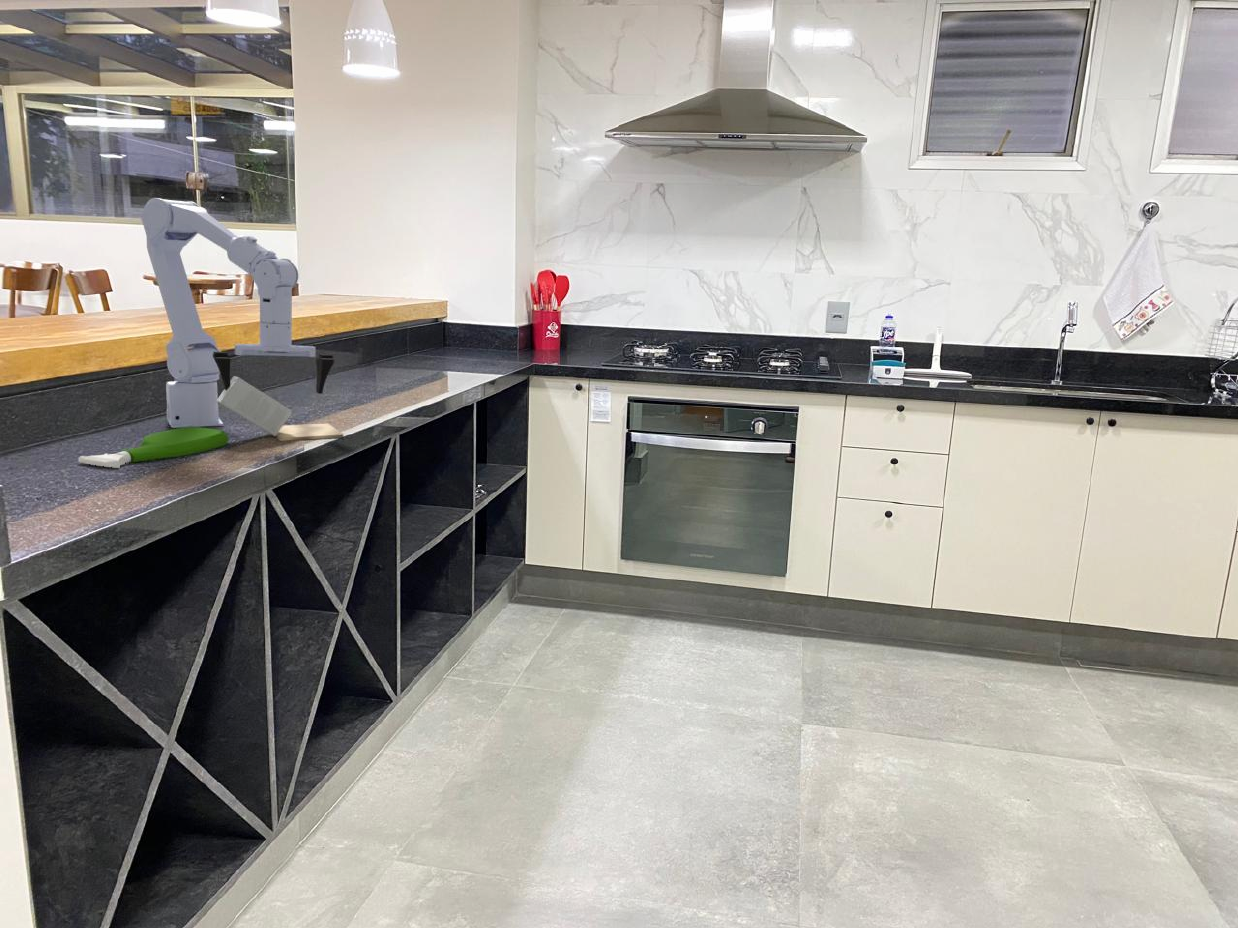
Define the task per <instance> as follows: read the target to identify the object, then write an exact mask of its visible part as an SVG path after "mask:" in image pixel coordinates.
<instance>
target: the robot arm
mask: <svg viewBox="0 0 1238 928" xmlns="http://www.w3.org/2000/svg"><path fill="white" fill-rule="evenodd" d="M140 218H141V222H142V226H143V228H144V231H145V235H146V249H147V253H148V256H149V260H150V262H151V265H152V270H153V272H154V273H153V274H154V276H155V280H156V283H157V286H158V288H159V292H160V295H161V296H160V297H161V299H162V302H163V305H164V309H165V311H166V315H167V319H168V322H169V324H170V325H169V326H170V327H171V332H172V335H173V336H172V337H171V339H170V340H169V341H168V342H167V343H166V345H165V351H166V355H167V357H166V366H167V369H168V372H169V373H170V375H171V376H172V377H173V378H174V381H171V380H170V381H166V383H165V390H166V391H165V392H166V394H165V395H166V419H167V422H168V424H169V426H170V427H171V428H173V429H178V428H183V427H189V426H194V427H202V428H203V427H218V426H221V427H222V426H224V423H223V421H222V420H221V419H220V417H219V402H217V401H216V400H217V399H218V398H219V396H218V380H220V376H221V378H222V383H223V386H224V389H225V390H227V389H228V388H229V387H230V381H231V377H230V376H231V375H230V374H231V358H230V355H229V354H228V352H227V351H222V350H220V348H219V347H218V345H217V342H216V339H215V338H214V337H213V336H211V335H210V334H209V333H208V332H206V330H204V329H203V326H202V322H201V320H200V316H199V311H198V309H197V307H196V302H195V299H194V295H193V291H192V289H191V287H190V286H191V285H190V283H189V279H188V275H187V273H186V269H185V265H184V263H183V259H182V257H181V251H182V250H183V249H184V247H185V246H187V245H188V244H189V243H191V241H192V240H193V239H194V238H195V237H196V236H197V235H201V236H202V237H204V238H205V239H206V240H208V241H209V242H211V243H213V244H215V245H216V246H217V247H220V248H221V249H222V250H225V251H226V255H227V258H228V260H229V261H230V262H231V263H233V264H234V265H235V266H237V267H239V268H240V269H241V270H242V271H244V272H246V273H247V274H249V275H250V276H251V277H252V279H253V283H255V285H256V287H257V295H259V343H248V344H247V343H246V344H245V343H235V344H234V355H236V356H269V357H270V356H272V357H273V356H277V357H281V356H282V357H283V356H284V357H309V358H315V363H316V366H315V367H316V385H315V387H316V390H315V391H316V393H317V394H318V395H319V394H322V395H323V393H324V387H325V383H326V381H327V378H328V375H329V373H330V371H331V369H332V367H333V366H334V363H335V358H334V355H332V354H328V353H327V354H323V353H322V354H321V353H320V354H319V355H318V356H317V357H316V354H317V353H316V346H313V345H310V346H309V345H295V344H293V345H292V341H293V340H292V338H293V336H292V333H293V332H292V329H293V328H292V325H293V324H292V323H293V315H292V314H293V313H292V312H293V310H292V309H293V307H292V305H293V302H292V301H293V288H295V287H296V285H298V284H297V283H298V282H299V270H298V268H297V266H296V265H295V264H294V262H292V261H291V259H289V258H278V257H277V253H275V252H274V251H273V250H268V249H266V248H265V247H263V246H262V245H261V244H259V243H258V242H257V241H258V239H257V238H255V237H254V236H249V235H248V236H247V235H240V236H238V235H236V234H235V233H233V232H232V231H231V230H230V229H228V228H227V227H226V226H224V225H223V224H222V223H220V221H218V220H217V219H216V218H214V217H213V216H211V215H210V214H209V213H208V211H207V209H206V208H204V207H202V206H200V205H199V204H197V203H196V202H194V201H182V200H170V199H163V198H160V197H159V198H158V197H153V198H151V199H149V200H147V202H146V204H145V206H144V207H143V209H142V211H141V213H140Z"/></svg>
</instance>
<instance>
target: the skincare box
mask: <svg viewBox="0 0 1238 928" xmlns="http://www.w3.org/2000/svg"><path fill="white" fill-rule="evenodd" d="M216 401H217V402H218V404H220V405H222V406H223V407H225V408H227V409H228V410H230V411H232V412H233V413H235V414H237V415H239V416H240V417H242V418H244V419H245V420H247V421H248V422H250V423H252V424H254V425H255V426H257V427H259V428H260V429H261V430H263V431H265V432H266V433H268V434H269V435H272V436H273V437H275V436H276V435H277V433H278V432H279V431H280V429H281V428H282V426H285V423H286V421H288V419H289V418H290V416H291V415H292V413H293V411H292V410H291V409H289V408H288V407H287V406H284V405H283V404H282V403H280V402H278V401H277V400H275V399H273V398H272V397H270V396H269V395H268V394H266V393H265V392H263V391H261V390H259V389H258V388H256V387H255V386H253V385H251V384H250V383H248V382H247V381H245V380H244V379H242V378H241V377H239V376H236V375H234V376H232V378H230V387H229V388H228V389H227V390H225V388H224V389H223V391H222V392H221V394H220V395H219V396H218V399H217V400H216Z"/></svg>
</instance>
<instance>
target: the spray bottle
mask: <svg viewBox="0 0 1238 928" xmlns="http://www.w3.org/2000/svg"><path fill="white" fill-rule="evenodd" d="M228 440H229V435H228V434H227V432H225V431H224V430H222V429H216V428H207V427H203V426H202V427H194V426H189V427H180V428H173V429H169V430H164V431H162V430H161V431H159V432H156V433H155V432H154V433H151V434H148V435H146V436H145V437H143V438H142V441H141V444H140V446H138V447H133V448H130V449H122V450H121V451H119V452H116V453H112V454H111V453H110V454H109V453H108V452H106V453H104V454H98V455H88V456H84V455H82V456H79V457H78V458H77V460H78V462H79V463H81V464H86V465H89V464H90V466H95V465H96V467H103V466H104V467H103V468H111V467H112V469H120V468H121V467H120V466H122V465H125V463H126V464H129V462H130V463H141V462H147V461H148V460H150V461H156V459H158V460H164V459H163V458H165V459H172V458H171V457H173V458H178V456H179V457H184V456H189V455H193V454H199V453H202V452H203V453H204V452H208V451H211V450H214V449H217V448H222V447H224V446H226V445H227V444H228ZM140 461H141V462H140ZM148 462H149V461H148Z"/></svg>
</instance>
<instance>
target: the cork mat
mask: <svg viewBox="0 0 1238 928" xmlns="http://www.w3.org/2000/svg"><path fill="white" fill-rule="evenodd" d="M274 437H275V438H277V440H278V441H280V442H286V441H287V442H288V441H301V440H318V439H319V440H320V439H321V440H322V439H339V438H341V439H342V438H344V434H343V433H342V432H341V431H339V429H336V428H335V427H334V426H332V425H331V424H330V423H313V424H312V423H311V424H291V425H290V424H288V425H286V424H284V425H283V426H282V428H281V429H280V431H279V432H278V433H277V435H276V436H274Z"/></svg>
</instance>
